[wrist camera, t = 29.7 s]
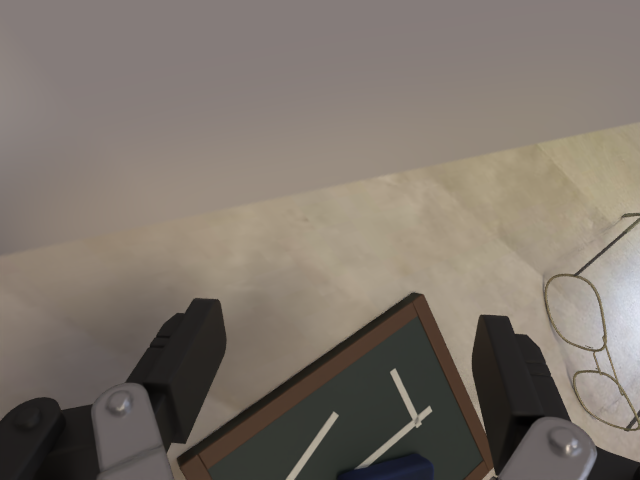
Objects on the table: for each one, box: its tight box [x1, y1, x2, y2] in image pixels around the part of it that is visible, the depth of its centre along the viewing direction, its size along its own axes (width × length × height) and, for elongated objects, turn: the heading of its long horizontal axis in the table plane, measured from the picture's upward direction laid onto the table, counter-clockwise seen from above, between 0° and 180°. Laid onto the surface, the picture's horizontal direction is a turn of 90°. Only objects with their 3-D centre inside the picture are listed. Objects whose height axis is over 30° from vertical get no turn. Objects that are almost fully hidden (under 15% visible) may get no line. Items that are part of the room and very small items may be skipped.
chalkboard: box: [177, 293, 494, 480], centre depth 32 cm, size 16×20×1 cm
